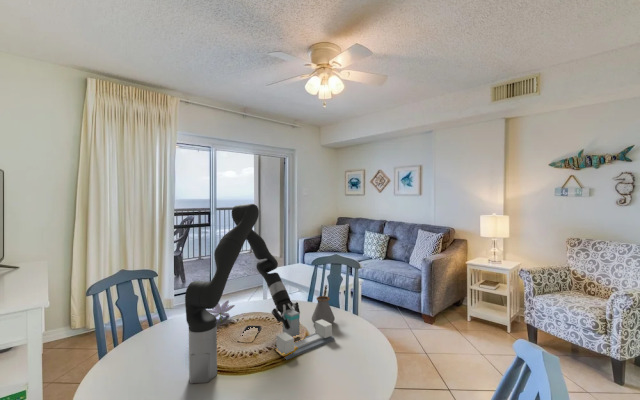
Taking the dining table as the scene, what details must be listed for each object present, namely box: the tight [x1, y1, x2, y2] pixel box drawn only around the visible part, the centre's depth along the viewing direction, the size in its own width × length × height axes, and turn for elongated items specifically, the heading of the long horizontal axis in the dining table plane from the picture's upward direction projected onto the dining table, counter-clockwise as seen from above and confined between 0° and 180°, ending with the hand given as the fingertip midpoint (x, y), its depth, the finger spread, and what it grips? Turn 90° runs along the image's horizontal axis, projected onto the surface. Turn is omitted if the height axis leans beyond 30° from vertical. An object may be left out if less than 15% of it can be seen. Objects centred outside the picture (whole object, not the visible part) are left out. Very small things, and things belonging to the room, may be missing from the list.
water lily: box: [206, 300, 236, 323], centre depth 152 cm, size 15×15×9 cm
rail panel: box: [275, 319, 336, 361], centre depth 125 cm, size 25×9×7 cm, turn 129°
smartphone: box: [242, 325, 262, 336], centre depth 136 cm, size 7×1×15 cm
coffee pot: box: [311, 284, 335, 325], centre depth 151 cm, size 21×12×15 cm, turn 172°
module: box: [282, 308, 301, 337], centre depth 133 cm, size 5×7×11 cm, turn 39°
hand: (293, 327), depth 132 cm, fingers closed on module, 4 cm apart
